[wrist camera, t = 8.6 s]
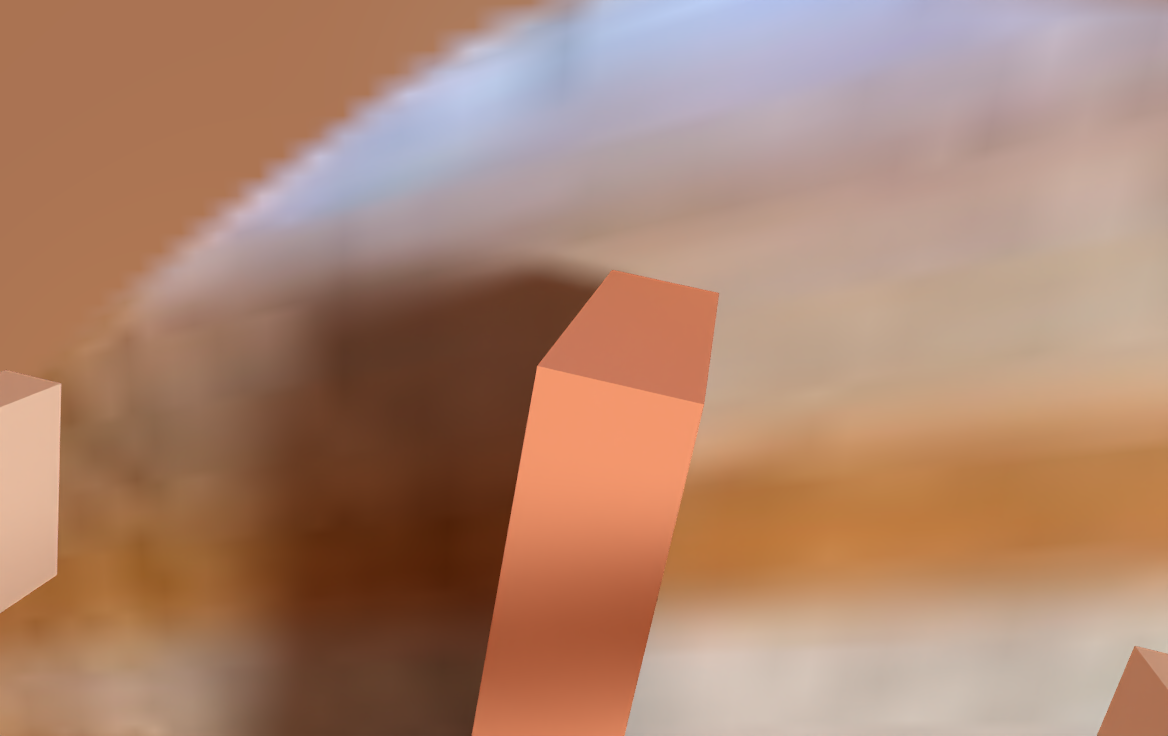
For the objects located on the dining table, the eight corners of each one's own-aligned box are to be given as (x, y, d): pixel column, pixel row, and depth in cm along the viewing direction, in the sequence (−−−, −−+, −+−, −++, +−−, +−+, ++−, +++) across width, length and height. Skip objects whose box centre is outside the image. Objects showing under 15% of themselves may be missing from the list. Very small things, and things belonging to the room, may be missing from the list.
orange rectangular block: (586, 852, 26) (520, 1165, 18) (501, 828, 26) (402, 1125, 19) (719, 293, 21) (704, 404, 13) (612, 269, 21) (537, 365, 13)
